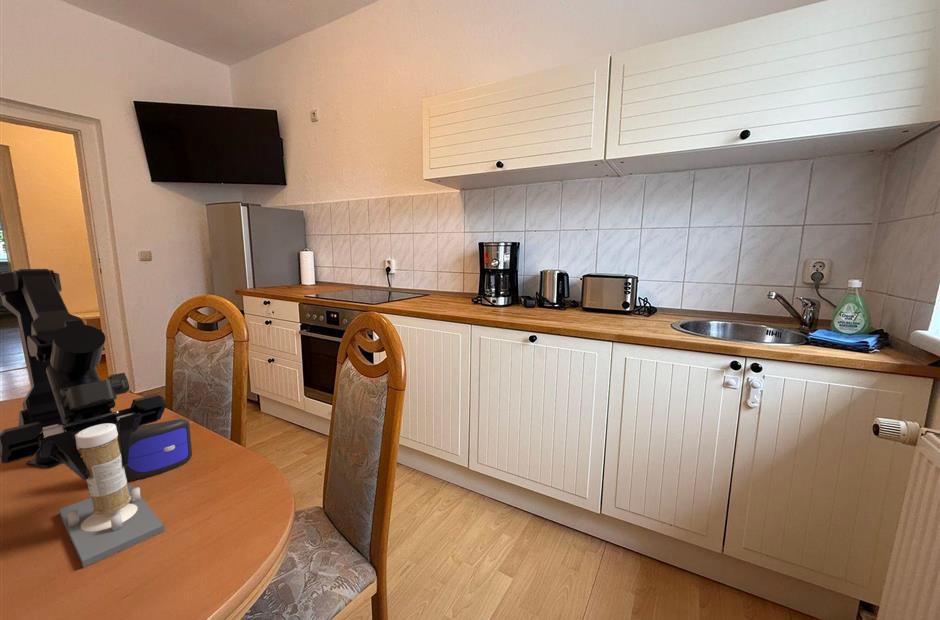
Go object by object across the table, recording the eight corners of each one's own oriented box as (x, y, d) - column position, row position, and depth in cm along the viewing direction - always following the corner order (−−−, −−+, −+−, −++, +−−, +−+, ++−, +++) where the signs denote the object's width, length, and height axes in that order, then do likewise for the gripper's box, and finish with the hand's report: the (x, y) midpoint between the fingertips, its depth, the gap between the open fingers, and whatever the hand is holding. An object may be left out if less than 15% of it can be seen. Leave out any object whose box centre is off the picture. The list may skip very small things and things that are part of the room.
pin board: (59, 514, 63) (57, 497, 62) (131, 489, 70) (129, 473, 70) (83, 567, 52) (80, 547, 52) (164, 530, 60) (162, 513, 59)
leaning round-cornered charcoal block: (79, 494, 68) (73, 444, 67) (86, 482, 72) (80, 434, 71) (191, 468, 77) (187, 423, 76) (192, 458, 81) (189, 415, 80)
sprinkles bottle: (94, 506, 62) (76, 428, 59) (132, 493, 65) (116, 419, 62) (92, 521, 58) (72, 440, 56) (132, 507, 61) (115, 429, 59)
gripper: (-11, 375, 52) (16, 477, 48) (157, 349, 68) (189, 424, 63) (-11, 416, 58) (13, 511, 53) (144, 383, 73) (173, 455, 69)
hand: (106, 471), depth 59 cm, fingers closed on sprinkles bottle, 4 cm apart
